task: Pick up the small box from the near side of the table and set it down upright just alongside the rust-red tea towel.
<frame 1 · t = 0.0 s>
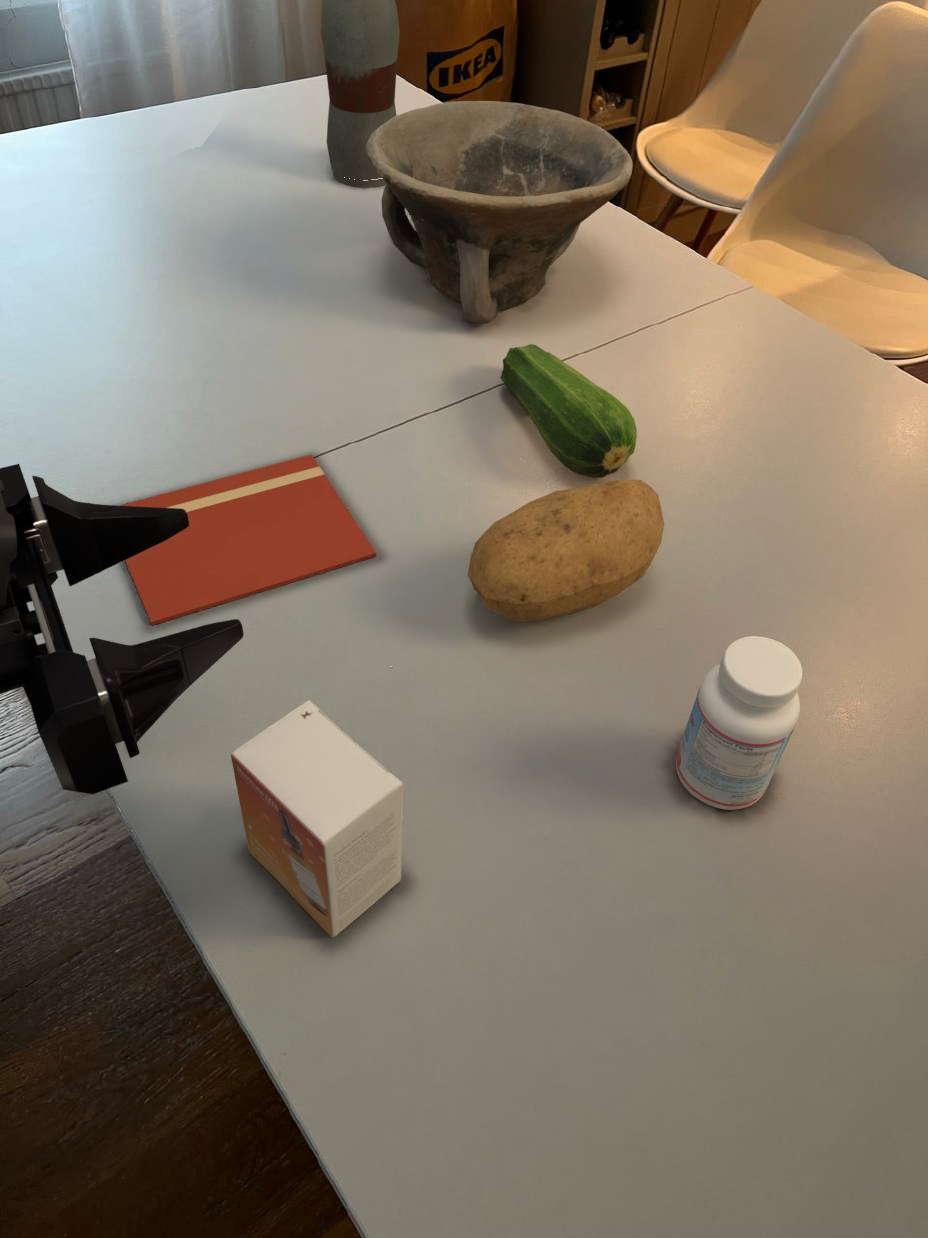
hand: (213, 569, 53), 18 cm above the table, tool horizontal, fingers open, 9 cm apart
tea towel: (238, 534, 81), on the table
pill bottle: (718, 776, 67), on the table
vegetable: (554, 430, 93), on the table
small box: (325, 869, 61), on the table
bowl: (491, 281, 112), on the table
potato: (558, 597, 78), on the table
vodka: (364, 175, 130), on the table
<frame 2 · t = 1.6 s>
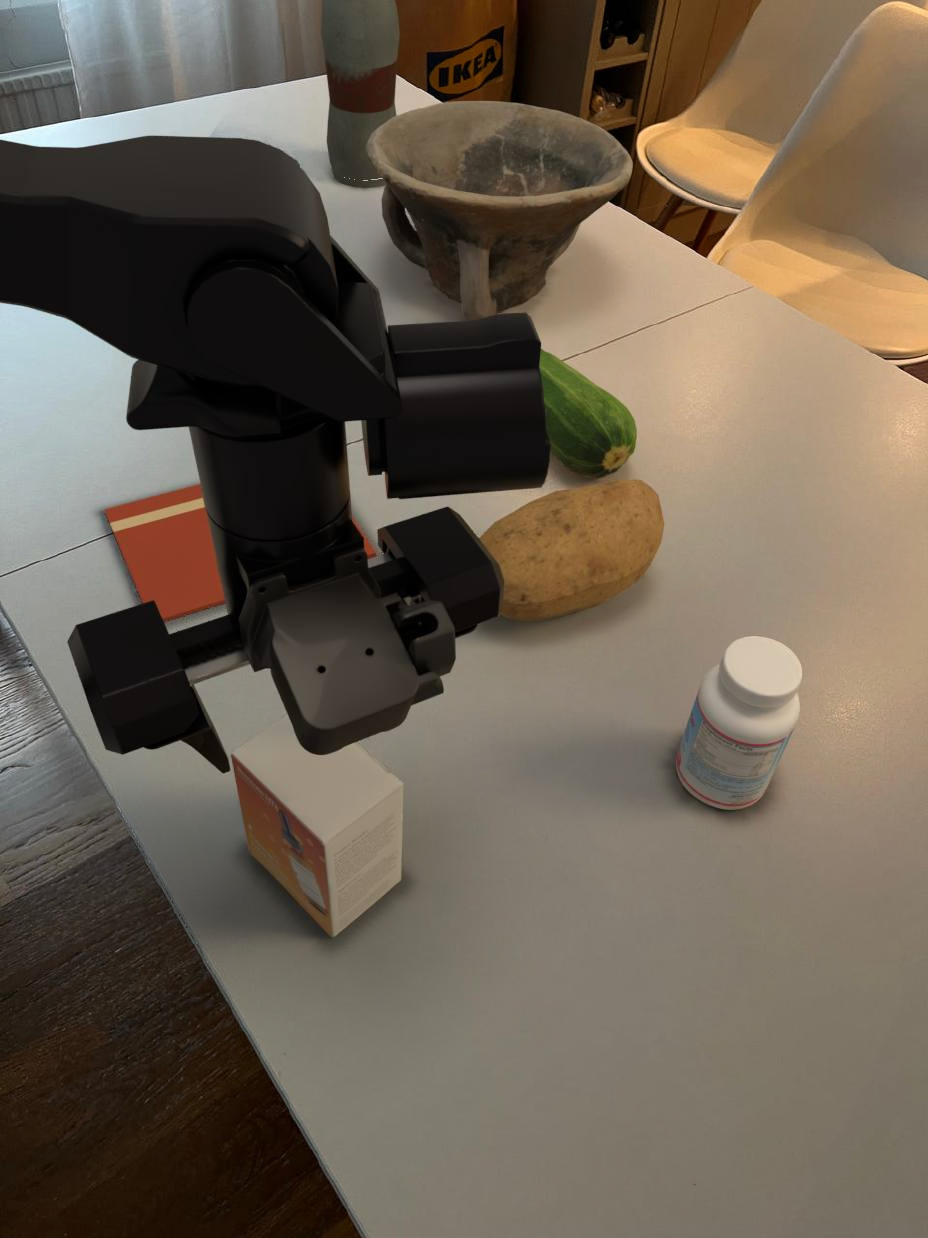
hand: (311, 732, 51), 13 cm above the table, tool pointing down, fingers open, 9 cm apart
nothing on the table moved.
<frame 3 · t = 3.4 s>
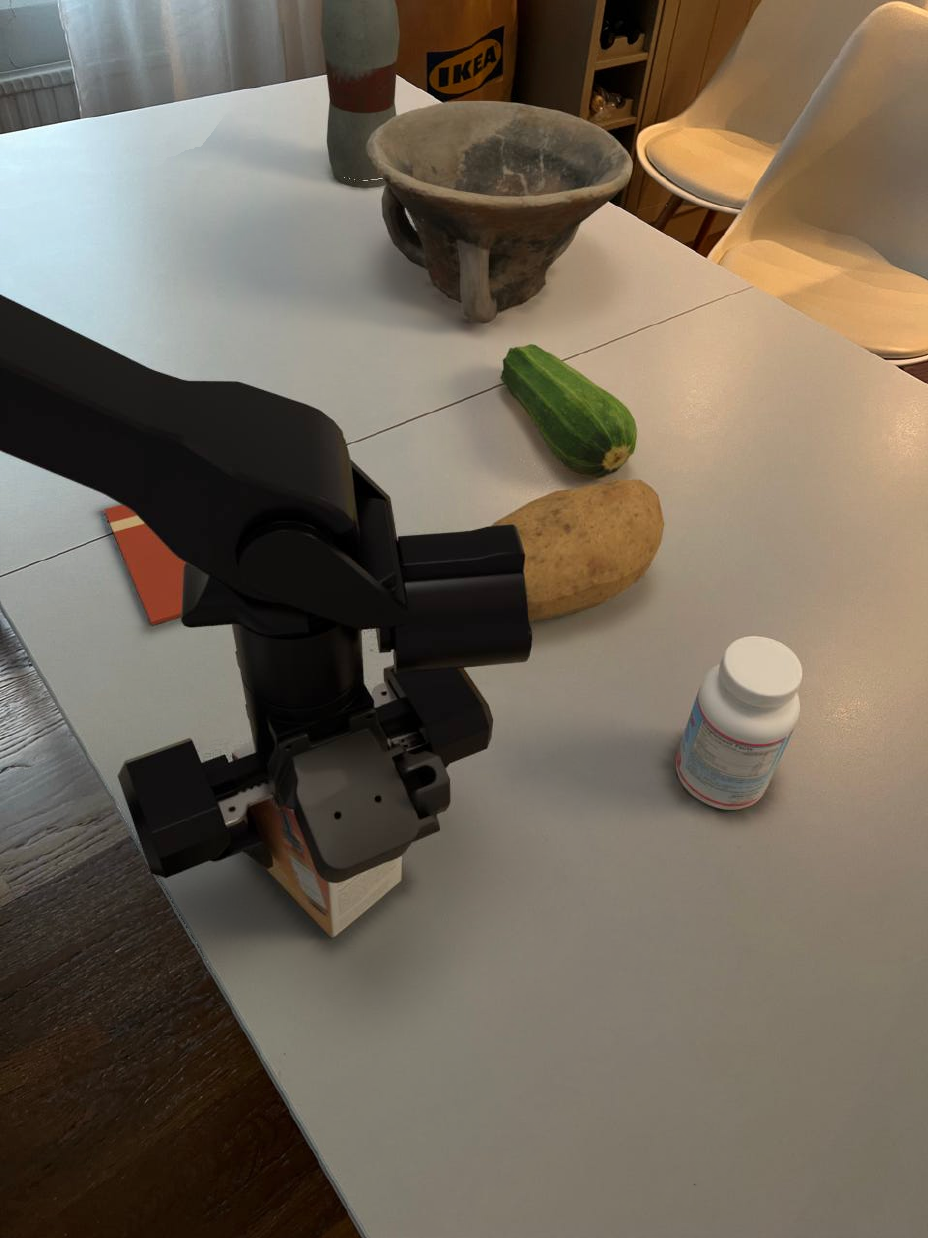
hand: (322, 838, 58), 3 cm above the table, tool pointing down, fingers closed on small box, 6 cm apart
small box: (325, 869, 61), on the table, touching gripper
everything else where it was.
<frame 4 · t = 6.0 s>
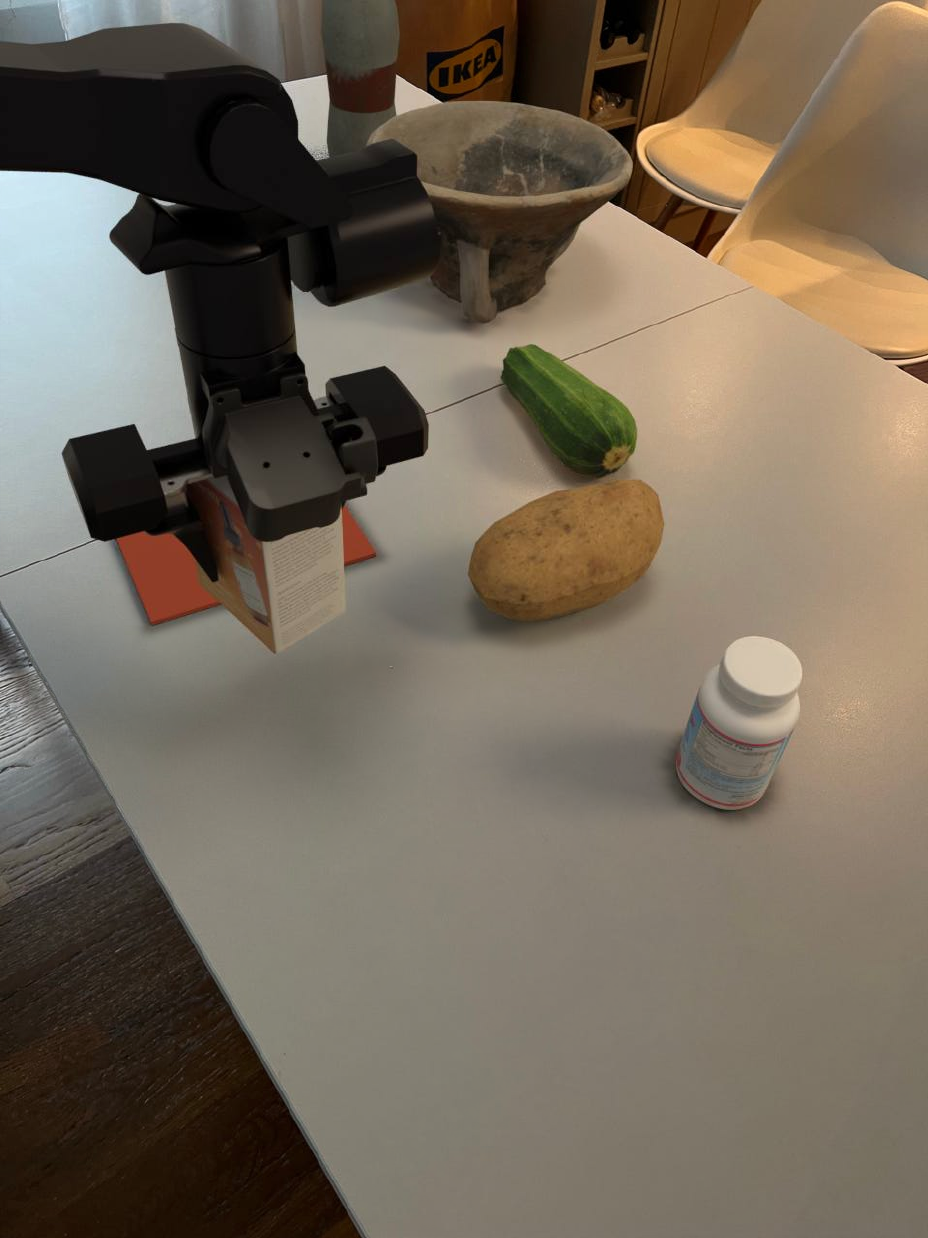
hand: (267, 561, 60), 13 cm above the table, tool pointing down, fingers closed on small box, 6 cm apart
small box: (273, 602, 63), point 9 cm above the table, touching gripper
everything else where it was.
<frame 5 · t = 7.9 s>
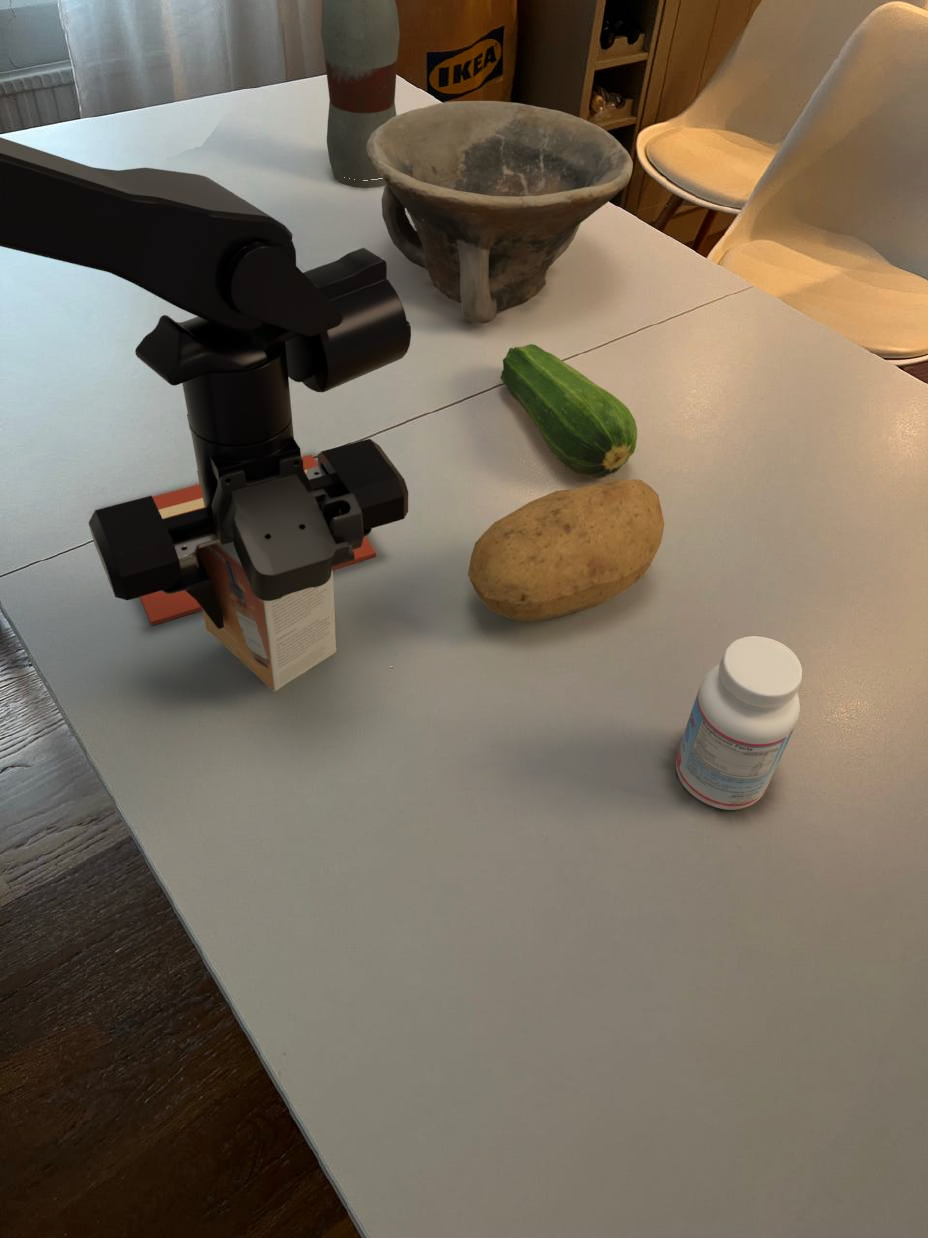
hand: (266, 609, 68), 5 cm above the table, tool pointing down, fingers closed on small box, 6 cm apart
small box: (271, 643, 70), point 2 cm above the table, touching gripper
everything else where it was.
when the fingers open (3 cm above the table, at t = 9.1 s): small box stays where it is, on the table.
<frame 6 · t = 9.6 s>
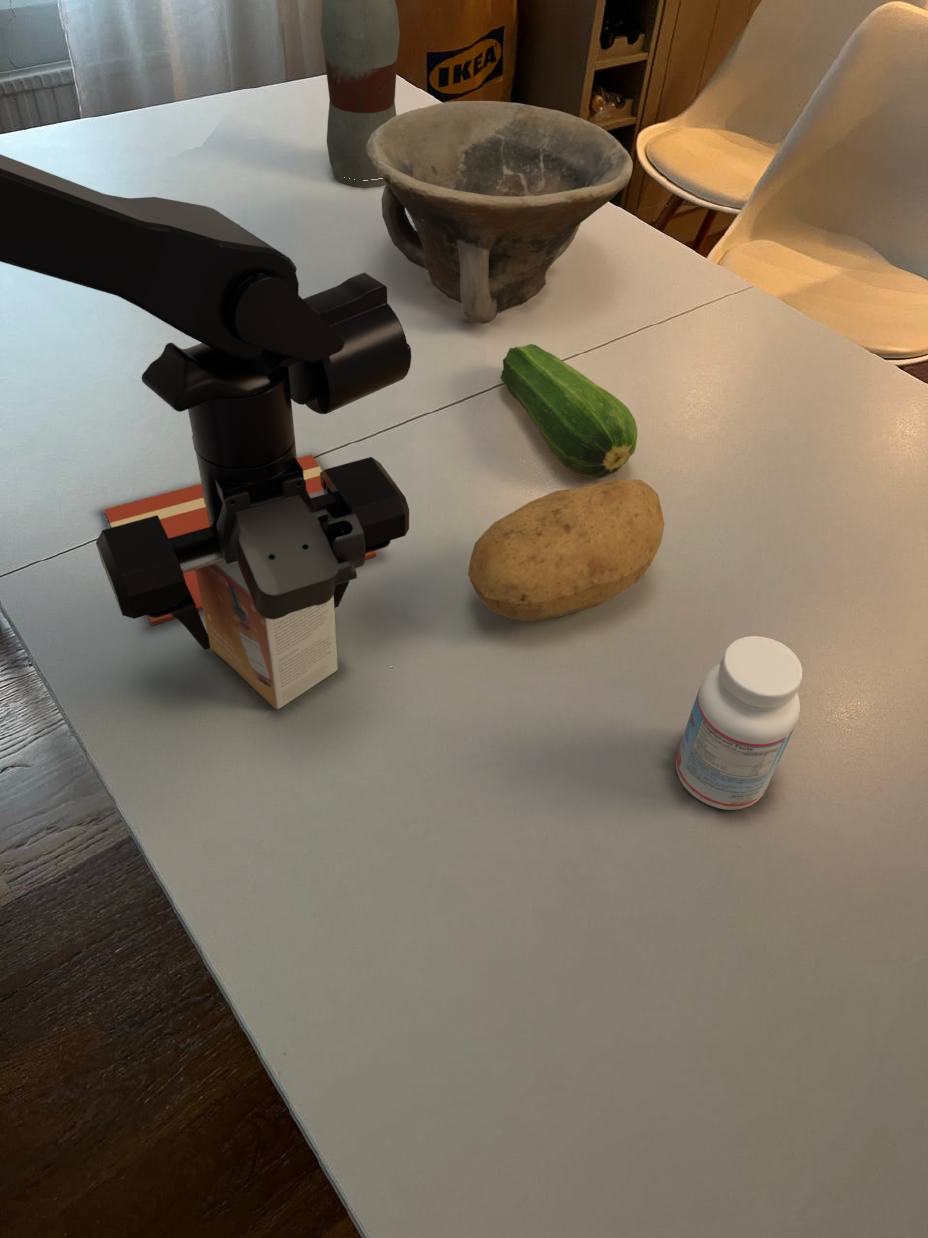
hand: (270, 624, 69), 4 cm above the table, tool pointing down, fingers open, 9 cm apart
small box: (274, 662, 72), on the table
everything else where it was.
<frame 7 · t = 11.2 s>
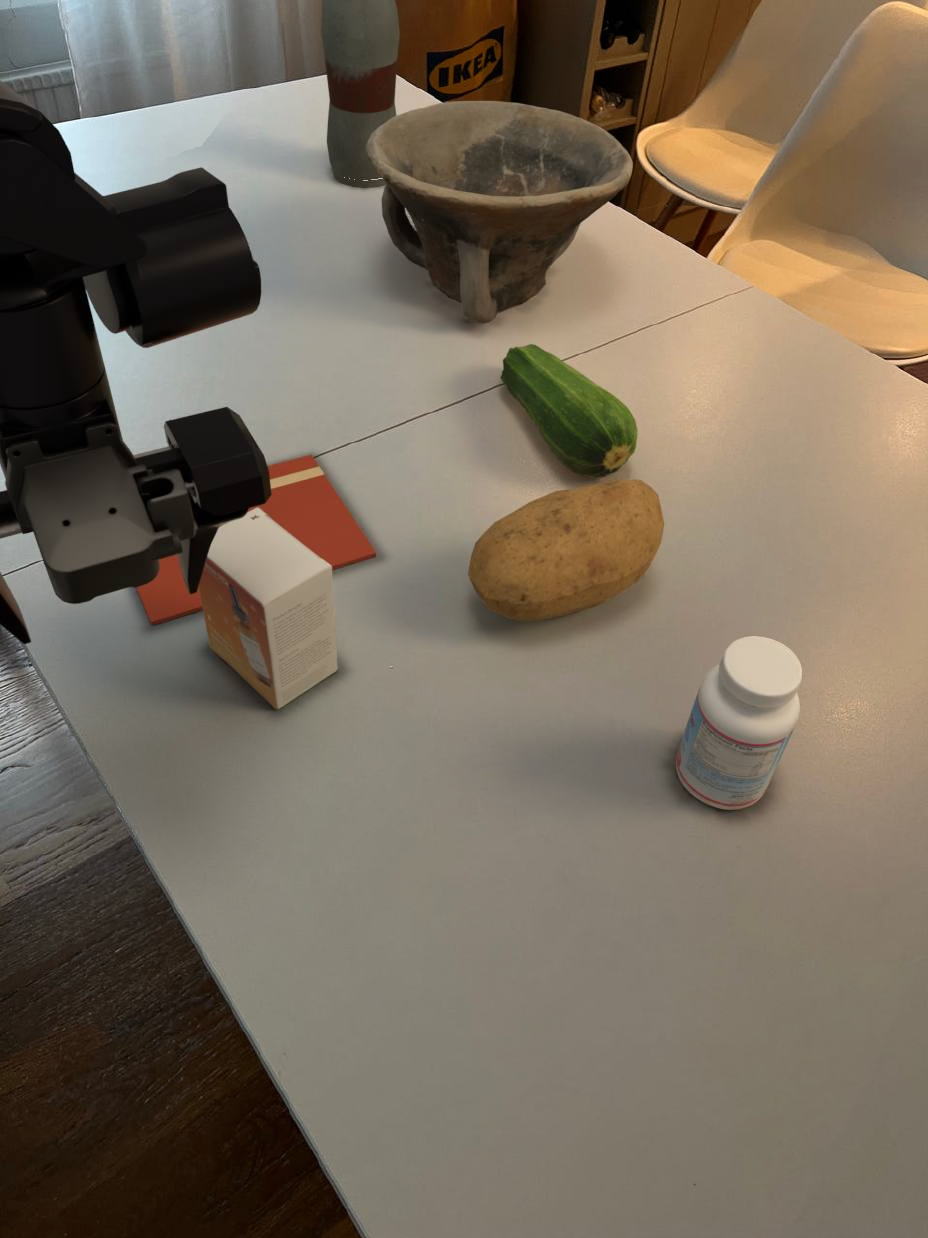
hand: (110, 613, 57), 13 cm above the table, tool pointing down, fingers open, 9 cm apart
nothing on the table moved.
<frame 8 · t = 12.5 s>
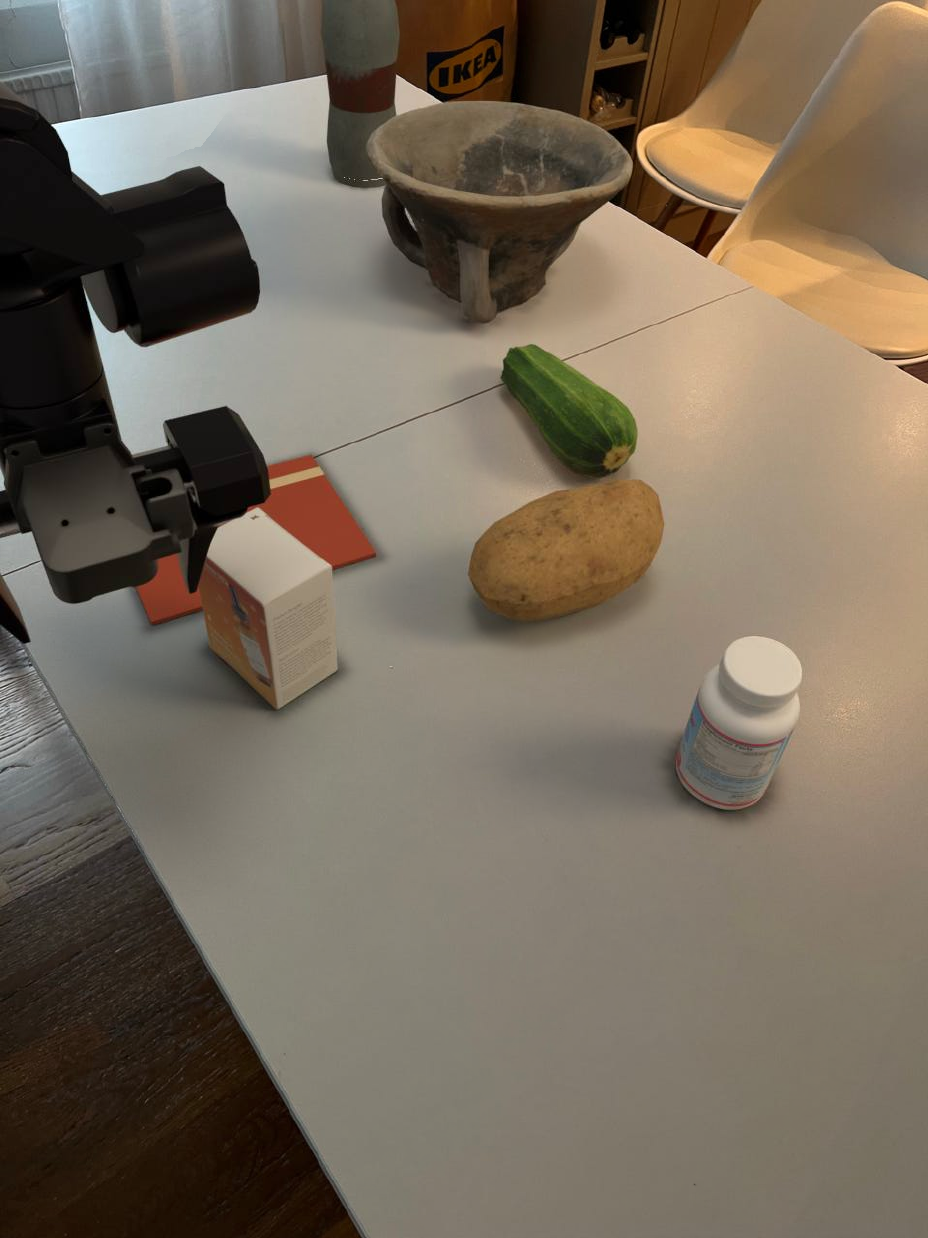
hand: (110, 612, 57), 13 cm above the table, tool pointing down, fingers open, 9 cm apart
nothing on the table moved.
at the end: small box inside the target area on the table beside the tea towel (1.2 cm from its centre), on the table; small box tilted 0°; the gripper is holding nothing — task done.
